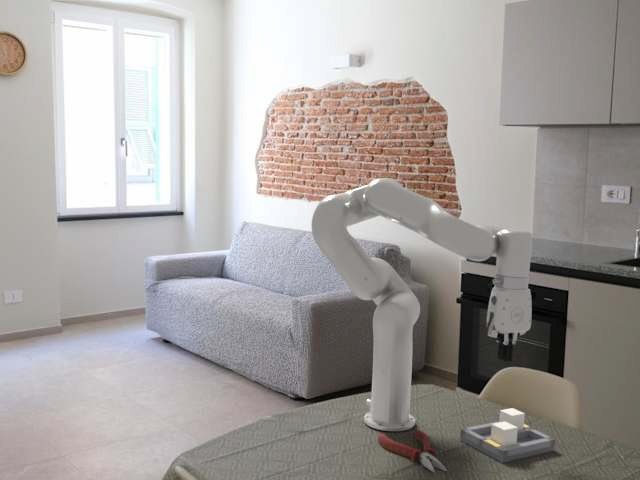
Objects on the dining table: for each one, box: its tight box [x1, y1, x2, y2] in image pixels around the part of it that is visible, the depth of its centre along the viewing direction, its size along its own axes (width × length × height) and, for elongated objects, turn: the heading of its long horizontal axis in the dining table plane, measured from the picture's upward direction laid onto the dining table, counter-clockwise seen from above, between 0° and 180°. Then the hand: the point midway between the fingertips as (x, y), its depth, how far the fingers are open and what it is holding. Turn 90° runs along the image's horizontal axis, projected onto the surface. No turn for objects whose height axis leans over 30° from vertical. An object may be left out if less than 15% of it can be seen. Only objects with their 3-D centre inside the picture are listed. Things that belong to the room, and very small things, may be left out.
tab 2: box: [491, 421, 518, 447], centre depth 167 cm, size 4×4×5 cm
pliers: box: [377, 429, 448, 474], centre depth 164 cm, size 12×20×3 cm, turn 20°
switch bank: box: [459, 420, 556, 463], centre depth 172 cm, size 14×16×3 cm
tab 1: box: [498, 407, 525, 431], centre depth 176 cm, size 4×4×5 cm
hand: (504, 359), depth 174 cm, fingers closed
